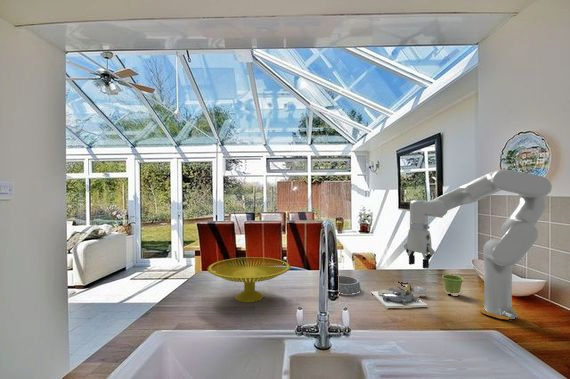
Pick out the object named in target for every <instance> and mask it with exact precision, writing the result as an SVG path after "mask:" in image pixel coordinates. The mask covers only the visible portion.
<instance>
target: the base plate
mask: <svg viewBox="0 0 570 379" xmlns="http://www.w3.org/2000/svg"><path fill="white" fill-rule="evenodd" d="M378 291H379V290H377V291H375V290H374V291H370V294H371V293H372V294H373V295H375V297H376V298H377V299H378V300H379V301H380V302H381V303H382V304H383V305H384V306H385V307H403V306H424V305H428V304H427V303H426V302H424V301H423V300H421V299H420V300H419V301H417V302H416V301H412V302H408V303H407V304H402V303H398V302H392V301H384V300H383V297H382V295H378ZM377 299H376V300H377ZM378 300H377V301H378ZM379 301H378V302H379ZM422 301H423V302H422ZM380 302H379V303H380ZM381 303H380V304H381ZM382 304H381V305H382ZM383 305H382V306H383ZM384 306H383V307H384ZM385 307H384V308H385Z"/></svg>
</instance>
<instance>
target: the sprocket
mask: <svg viewBox="0 0 570 379" xmlns="http://www.w3.org/2000/svg"><path fill="white" fill-rule="evenodd" d="M410 286H411V284H409V285H406V290H402V289H397V288H395V289H394V287H389V288H388V289H382V290H380V289H379V290H377V291H378V295H382V297H383V300H384V301H392V302H398V303H402V304H407V303H408V302H412V301H418V299H419V297H417V296H416V297H415V295H414V293H413V294H412V291H411V290H410V289H411V287H410ZM413 295H414V296H413Z"/></svg>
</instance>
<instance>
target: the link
mask: <svg viewBox="0 0 570 379" xmlns="http://www.w3.org/2000/svg"><path fill="white" fill-rule="evenodd" d="M414 292H416V293H417V294H426V295H427V289H426V288H425V287H423V286H418V285H417V286H413V293H414Z"/></svg>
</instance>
